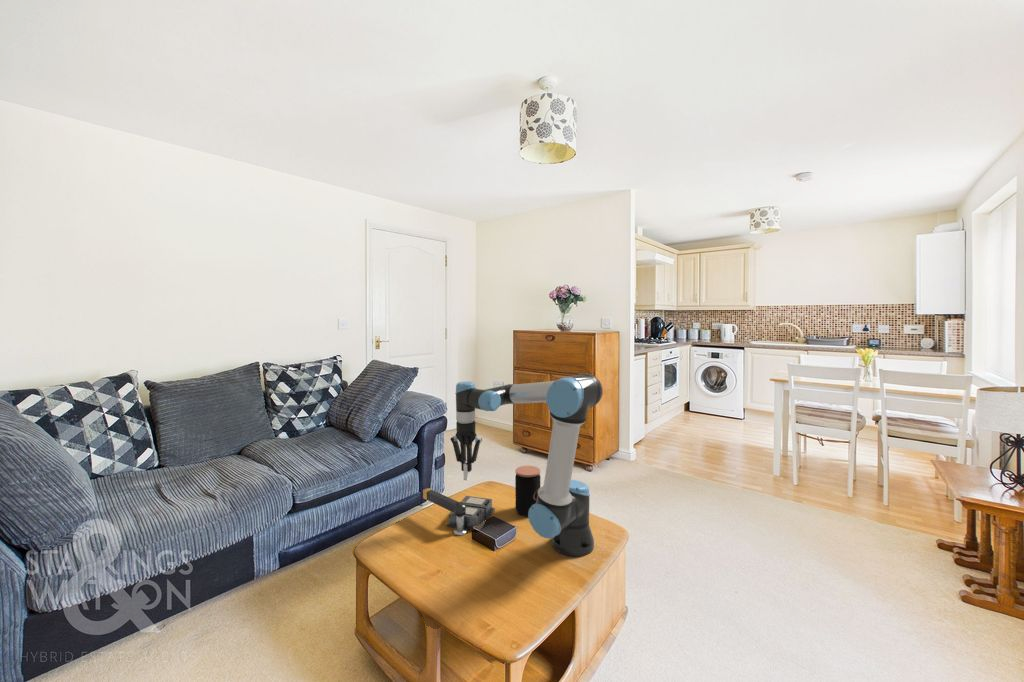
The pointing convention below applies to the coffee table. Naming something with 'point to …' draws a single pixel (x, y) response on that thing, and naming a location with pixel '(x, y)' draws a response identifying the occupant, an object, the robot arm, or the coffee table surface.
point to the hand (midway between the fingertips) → (466, 478)
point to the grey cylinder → (460, 526)
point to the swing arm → (445, 502)
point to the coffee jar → (526, 488)
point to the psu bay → (473, 512)
